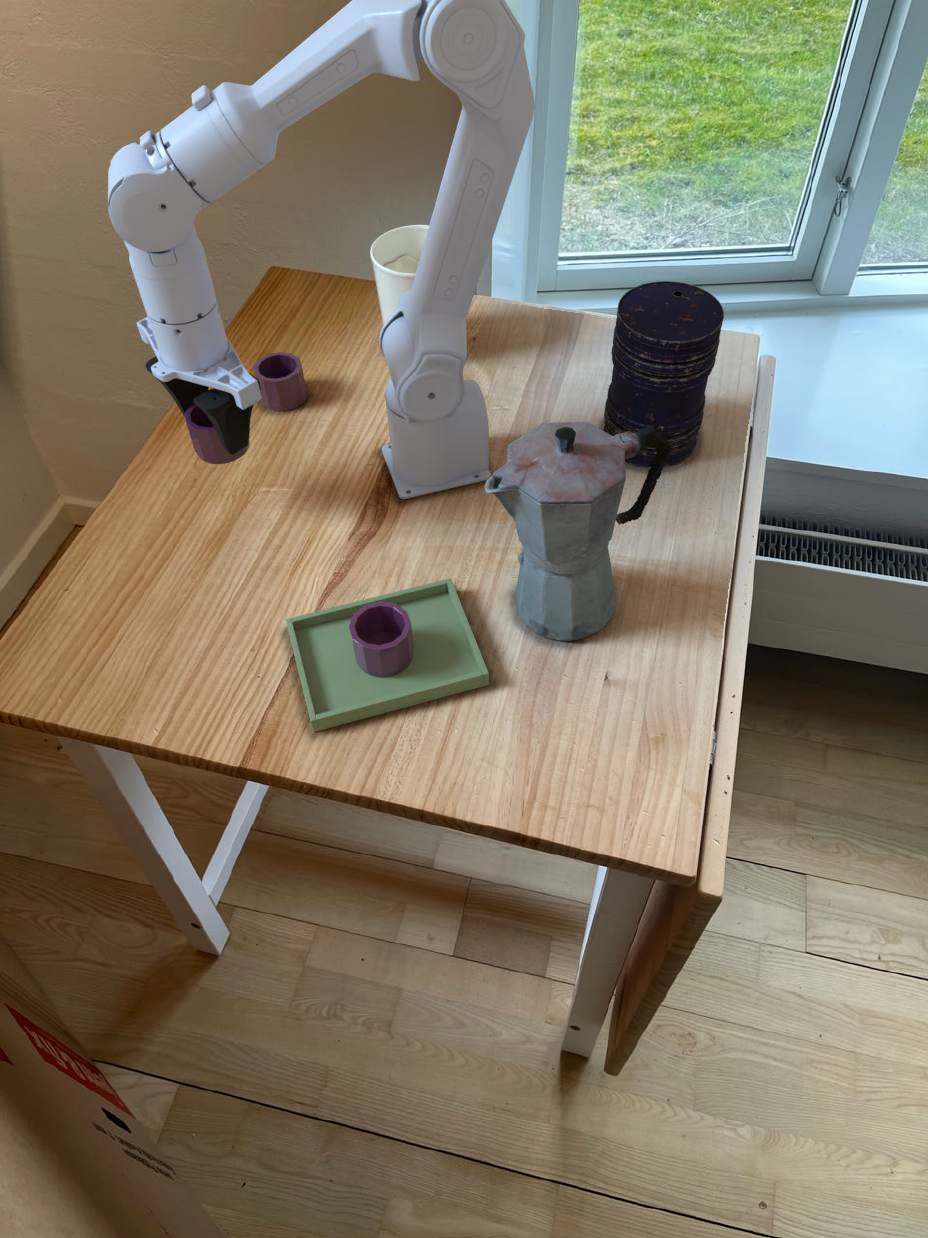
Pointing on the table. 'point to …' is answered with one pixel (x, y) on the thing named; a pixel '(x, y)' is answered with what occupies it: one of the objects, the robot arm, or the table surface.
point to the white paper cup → (396, 264)
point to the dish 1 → (207, 438)
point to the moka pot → (570, 519)
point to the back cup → (281, 381)
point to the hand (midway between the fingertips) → (219, 434)
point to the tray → (351, 694)
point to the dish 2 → (382, 639)
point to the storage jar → (662, 364)
